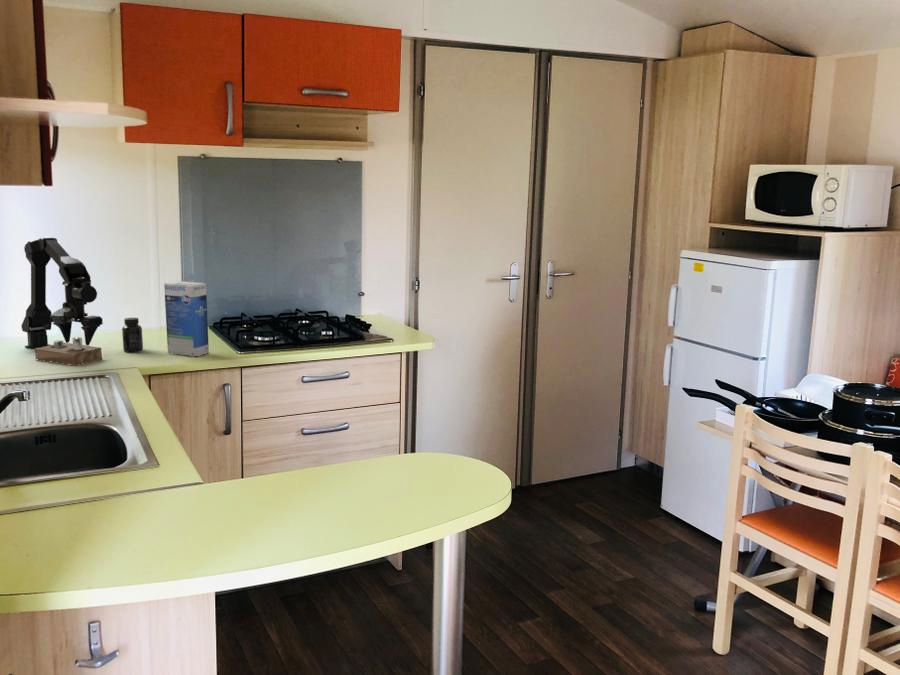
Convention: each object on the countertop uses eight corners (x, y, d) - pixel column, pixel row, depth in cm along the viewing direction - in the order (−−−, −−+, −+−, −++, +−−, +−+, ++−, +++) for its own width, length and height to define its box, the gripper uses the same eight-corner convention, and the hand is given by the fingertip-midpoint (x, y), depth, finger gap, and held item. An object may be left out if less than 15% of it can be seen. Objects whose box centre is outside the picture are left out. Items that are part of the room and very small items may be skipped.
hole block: (74, 365, 291) (73, 354, 290) (35, 359, 298) (34, 348, 297) (101, 358, 302) (101, 347, 301) (63, 353, 308) (62, 342, 308)
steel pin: (72, 361, 297) (70, 338, 296) (78, 359, 300) (77, 337, 298) (78, 362, 296) (77, 339, 294) (85, 360, 299) (83, 337, 297)
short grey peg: (52, 358, 301) (51, 341, 299) (59, 356, 303) (58, 340, 302) (59, 359, 299) (58, 342, 298) (66, 357, 302) (64, 340, 301)
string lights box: (209, 353, 314) (207, 283, 308) (196, 357, 307) (193, 285, 302) (180, 349, 319) (177, 280, 313) (166, 353, 312) (163, 282, 306)
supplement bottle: (146, 349, 318) (144, 317, 316) (138, 353, 311) (136, 320, 309) (128, 348, 319) (126, 316, 316) (119, 352, 312) (118, 319, 310)
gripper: (35, 299, 290) (38, 345, 293) (76, 304, 283) (79, 351, 286) (61, 295, 300) (64, 339, 303) (102, 300, 293) (105, 345, 296)
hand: (77, 343), depth 297 cm, fingers open, 9 cm apart
